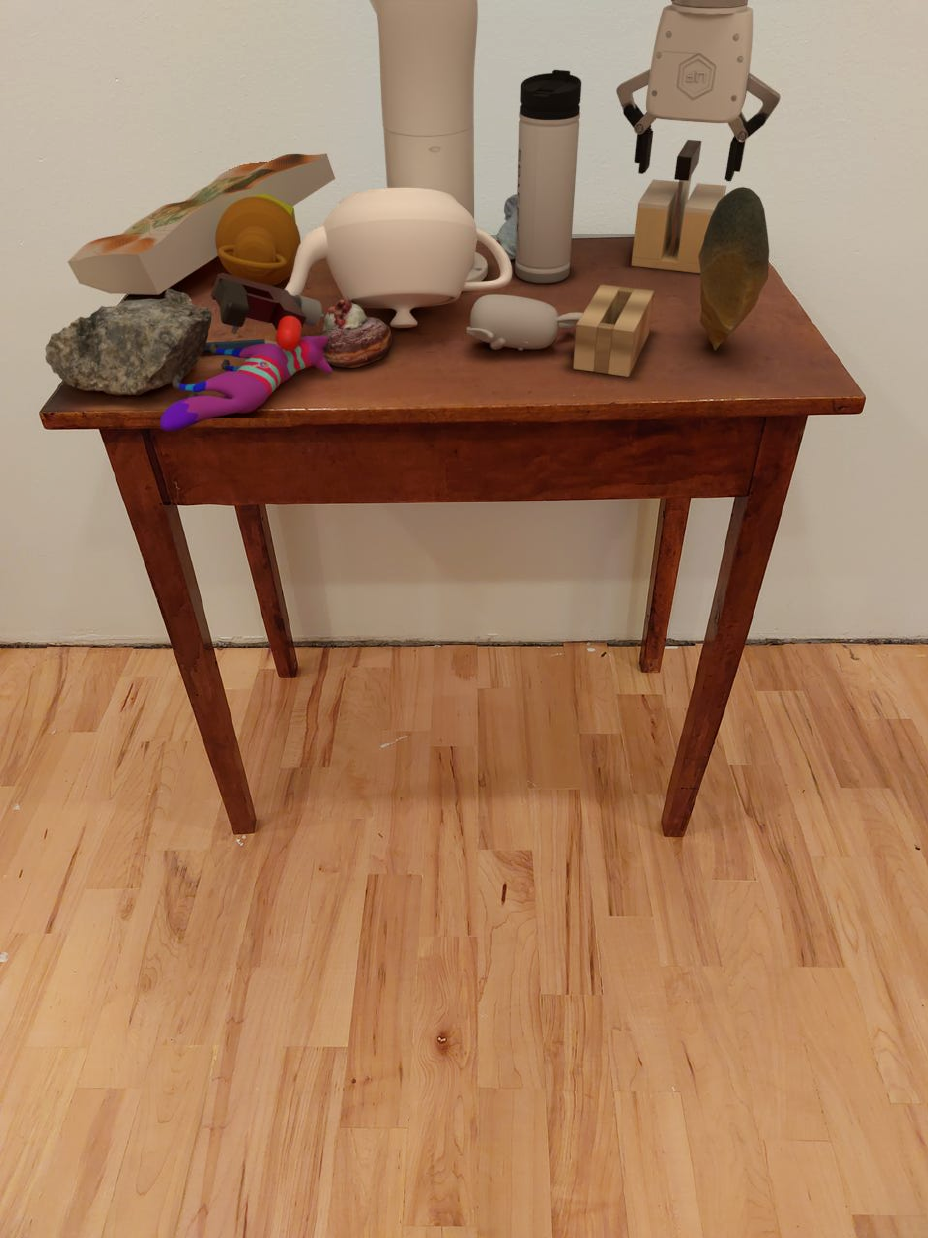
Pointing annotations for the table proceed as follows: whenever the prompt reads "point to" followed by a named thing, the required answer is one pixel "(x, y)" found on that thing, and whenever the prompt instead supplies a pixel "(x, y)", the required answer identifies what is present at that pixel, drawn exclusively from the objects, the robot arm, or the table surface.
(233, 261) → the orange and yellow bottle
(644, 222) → the u-shaped wooden stand
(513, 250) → the figurine
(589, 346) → the knife block
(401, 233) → the teapot
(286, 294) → the toy gun
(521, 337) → the rabbit figurine
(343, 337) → the pastry
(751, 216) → the decorative stone
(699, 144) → the knife
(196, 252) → the topographic model
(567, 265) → the travel mug
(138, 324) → the rock
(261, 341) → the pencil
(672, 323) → the table surface
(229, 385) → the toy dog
